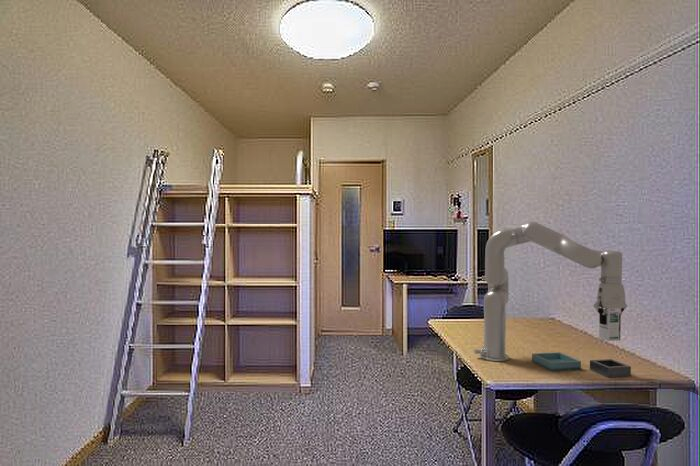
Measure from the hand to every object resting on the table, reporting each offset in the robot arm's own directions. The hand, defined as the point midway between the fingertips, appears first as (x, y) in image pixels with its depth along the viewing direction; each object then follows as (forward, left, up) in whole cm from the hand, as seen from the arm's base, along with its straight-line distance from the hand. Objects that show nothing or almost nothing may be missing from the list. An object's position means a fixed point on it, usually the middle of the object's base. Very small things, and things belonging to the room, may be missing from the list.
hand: (609, 323), depth 188 cm
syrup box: (0, 0, -7) cm, 7 cm away
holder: (0, 0, -21) cm, 21 cm away
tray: (-16, +13, -21) cm, 29 cm away
